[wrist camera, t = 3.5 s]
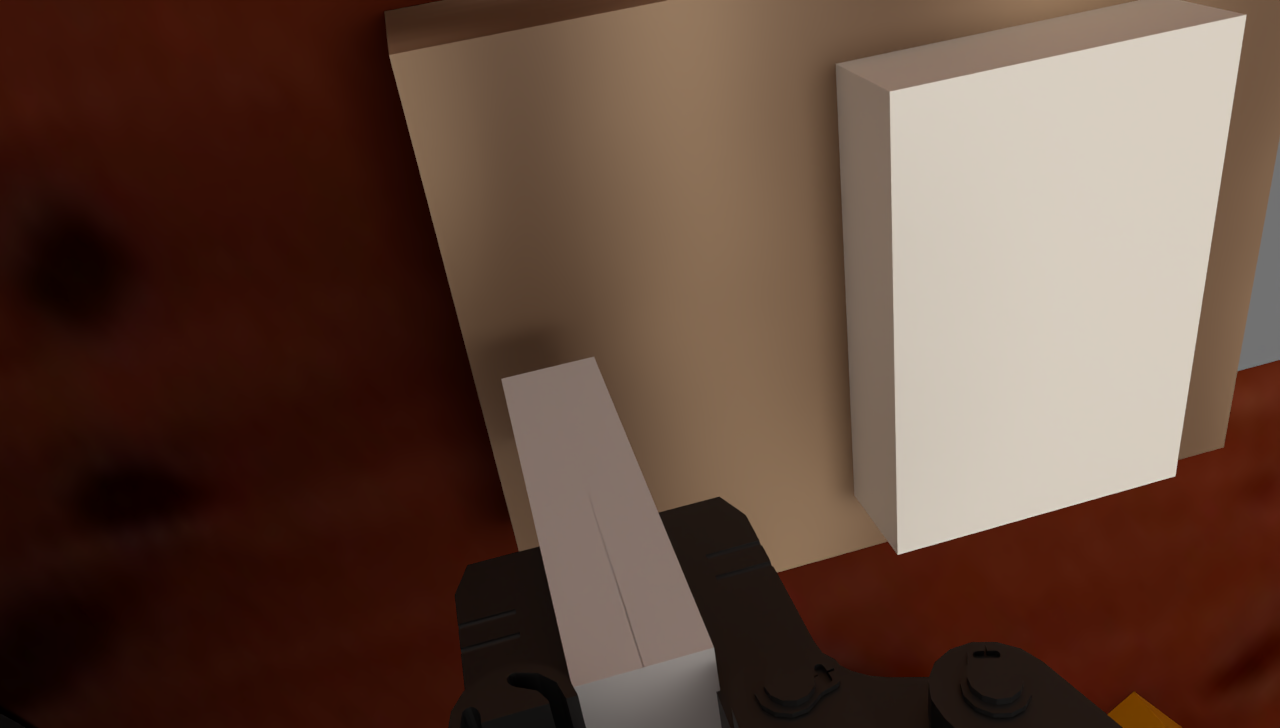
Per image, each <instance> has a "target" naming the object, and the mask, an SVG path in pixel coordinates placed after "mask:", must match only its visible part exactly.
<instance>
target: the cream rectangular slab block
mask: <svg viewBox="0 0 1280 728" xmlns="http://www.w3.org/2000/svg"><path fill="white" fill-rule="evenodd" d="M1245 22H1246V14H1241V13H1237V12H1232V11H1228V10H1223V9H1218V8H1214V7H1209V6H1205V5H1200V4H1196V3H1191V2H1186V1H1182V0H1137V1H1133V2H1128V3H1123V4H1118V5H1113V6H1109V7H1104V8H1099V9H1094V10H1090V11H1085V12H1080V13H1075V14H1071V15H1066V16H1061V17H1056V18H1052V19H1047V20H1042V21H1037V22H1033V23H1028V24H1023V25H1018V26H1013V27H1009V28H1004V29H999V30H994V31H990V32H985V33H980V34H975V35H971V36H966V37H961V38H956V39H952V40H947V41H942V42H937V43H933V44H928V45H923V46H918V47H913V48H909V49H904V50H899V51H894V52H890V53H885V54H880V55H875V56H871V57H866V58H861V59H856V60H852V61H847V62H842V63H837V64H836V84H837V107H838V130H839V153H840V176H841V199H842V222H843V245H844V268H845V291H846V314H847V337H848V360H849V383H850V406H851V428H852V451H853V474H854V495H855V497H856V498H857V500H858V501H859V502H860V504H861V505H862V506H863V508H864V509H865V511H866V512H867V513H868V515H869V516H870V517H871V519H872V520H873V522H874V523H875V524H876V526H877V527H878V528H879V530H880V531H881V533H882V534H883V535H884V537H885V538H886V539H887V541H888V542H889V544H890V545H891V546H892V548H893V549H894V550H895V552H896V553H897V555H899V554H902V553H906V552H909V551H913V550H916V549H920V548H923V547H927V546H930V545H934V544H938V543H941V542H945V541H948V540H952V539H955V538H959V537H962V536H966V535H969V534H973V533H976V532H980V531H983V530H987V529H990V528H994V527H998V526H1001V525H1005V524H1008V523H1012V522H1015V521H1019V520H1022V519H1026V518H1029V517H1033V516H1036V515H1040V514H1043V513H1047V512H1051V511H1054V510H1058V509H1061V508H1065V507H1068V506H1072V505H1075V504H1079V503H1082V502H1086V501H1089V500H1093V499H1096V498H1100V497H1103V496H1107V495H1111V494H1114V493H1118V492H1121V491H1125V490H1128V489H1132V488H1135V487H1139V486H1142V485H1146V484H1149V483H1153V482H1156V481H1160V480H1164V479H1167V478H1171V477H1174V476H1175V474H1176V468H1177V461H1178V455H1179V449H1180V442H1181V436H1182V429H1183V423H1184V416H1185V410H1186V403H1187V397H1188V390H1189V384H1190V377H1191V371H1192V364H1193V358H1194V352H1195V345H1196V339H1197V332H1198V326H1199V319H1200V313H1201V306H1202V300H1203V293H1204V287H1205V280H1206V274H1207V268H1208V261H1209V255H1210V248H1211V242H1212V235H1213V229H1214V222H1215V216H1216V209H1217V203H1218V196H1219V190H1220V184H1221V177H1222V171H1223V164H1224V158H1225V151H1226V145H1227V138H1228V132H1229V125H1230V119H1231V112H1232V106H1233V99H1234V93H1235V87H1236V80H1237V74H1238V67H1239V61H1240V54H1241V48H1242V41H1243V35H1244V28H1245Z"/></svg>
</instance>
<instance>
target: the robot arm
mask: <svg viewBox="0 0 1280 728" xmlns="http://www.w3.org/2000/svg"><path fill="white" fill-rule="evenodd" d="M501 380H502V385H503V389H504V393H505V398H506V402H507V406H508V411H509V415H510V419H511V424H512V428H513V432H514V437H515V441H516V446H517V450H518V454H519V459H520V463H521V467H522V472H523V476H524V480H525V485H526V489H527V493H528V498H529V502H530V506H531V511H532V515H533V519H534V524H535V528H536V532H537V537H538V541H539V547H535V548H531V549H527V550H523V551H520V552H516V553H512V554H508V555H504V556H501V557H497V558H493V559H489V560H485V561H482V562H478V563H474V564H470V565H467V568H466V570H465V572H464V575H463V577H462V579H461V582H460V584H459V586H458V589H457V591H456V593H455V601H456V610H457V620H458V626H459V638H460V648H461V652H462V654H461V657H462V667H463V676H464V686H465V691H464V692H463V693H462V695H461V697H460V698H459V700H458V701H457V703H456V705H455V706H454V708H453V709H452V711H451V715H450V722H449V728H1123V727H1122V726H1120V725H1119V724H1118V723H1117V722H1115V721H1114V720H1113V719H1112V718H1111V717H1109V716H1108V715H1107V714H1106V713H1105V712H1103V711H1102V710H1101V709H1100V708H1098V707H1097V706H1096V705H1095V704H1094V703H1092V702H1091V701H1090V700H1089V699H1087V698H1086V697H1085V696H1084V695H1083V694H1081V693H1080V692H1079V691H1078V690H1077V689H1075V688H1074V687H1073V686H1072V685H1070V684H1069V683H1068V682H1067V681H1066V680H1064V679H1063V678H1062V677H1061V676H1059V675H1058V674H1057V673H1056V672H1055V671H1053V670H1052V669H1051V668H1050V667H1049V666H1047V665H1046V664H1045V663H1044V662H1042V661H1041V660H1039V659H1037V658H1036V657H1034V656H1032V655H1031V654H1029V653H1027V652H1026V651H1024V650H1022V649H1020V648H1016V647H1013V646H1009V645H1005V644H1001V643H998V642H971V643H968V644H965V645H962V646H959V647H956V648H953V649H950V650H949V651H948V652H947V653H945V654H944V655H943V656H942V657H941V658H940V659H938V660H937V661H936V662H935V664H934V666H933V669H932V671H931V674H930V676H929V677H896V678H888V677H876V676H868V675H864V674H860V673H857V672H853V671H850V670H848V669H846V668H844V667H842V666H840V665H839V664H838V663H837V662H836V660H835V659H833V658H831V657H829V656H827V655H826V654H824V653H822V652H821V650H820V649H819V648H818V646H817V645H816V644H815V642H814V641H813V639H812V637H811V635H810V634H809V632H808V630H807V628H806V626H805V624H804V622H803V621H802V619H801V617H800V615H799V613H798V611H797V609H796V607H795V606H794V604H793V602H792V600H791V598H790V596H789V594H788V593H787V591H786V589H785V587H784V585H783V583H782V581H781V580H780V578H779V576H778V574H777V572H776V570H775V568H774V567H773V566H772V565H771V561H770V559H769V557H768V555H767V554H766V552H765V550H764V548H763V546H762V545H760V541H759V539H758V537H757V535H756V533H755V531H754V529H753V527H752V526H751V524H750V522H749V520H748V518H747V516H746V515H745V514H744V513H742V512H741V511H739V510H738V509H737V508H735V507H734V506H732V505H731V504H729V503H728V502H727V501H725V500H724V499H722V498H721V497H716V498H712V499H708V500H704V501H700V502H697V503H693V504H689V505H685V506H681V507H678V508H674V509H670V510H666V511H662V512H659V513H658V511H657V508H656V506H655V503H654V501H653V499H652V496H651V494H650V491H649V489H648V486H647V484H646V482H645V479H644V477H643V474H642V472H641V469H640V467H639V465H638V462H637V460H636V457H635V455H634V453H633V450H632V448H631V445H630V443H629V440H628V438H627V436H626V433H625V431H624V428H623V426H622V423H621V421H620V419H619V416H618V414H617V411H616V409H615V406H614V404H613V402H612V399H611V397H610V394H609V392H608V390H607V387H606V385H605V382H604V380H603V377H602V375H601V373H600V370H599V368H598V365H597V363H596V360H595V358H594V357H590V358H586V359H582V360H578V361H574V362H569V363H565V364H561V365H557V366H553V367H548V368H544V369H540V370H536V371H532V372H528V373H523V374H519V375H515V376H511V377H507V378H503V379H501ZM0 728H25V727H24V726H22V725H21V724H19V723H17V722H15V721H13V720H12V719H10V718H8V717H6V716H4V715H2V714H0Z"/></svg>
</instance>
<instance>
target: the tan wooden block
mask: <svg viewBox="0 0 1280 728" xmlns="http://www.w3.org/2000/svg"><path fill="white" fill-rule="evenodd" d="M1133 1H1137V0H442V1H437V2H432V3H426V4H421V5H416V6H410V7H405V8H400V9H395V10H389V11H384V14H385V23H386V32H387V41H388V51H389V57H390V61H391V65H392V69H393V72H394V76H395V80H396V84H397V88H398V91H399V95H400V99H401V103H402V107H403V110H404V114H405V118H406V122H407V126H408V130H409V133H410V137H411V141H412V145H413V149H414V152H415V156H416V160H417V164H418V168H419V172H420V175H421V179H422V183H423V187H424V191H425V194H426V198H427V202H428V206H429V210H430V214H431V217H432V221H433V225H434V229H435V233H436V236H437V240H438V244H439V248H440V252H441V256H442V259H443V263H444V267H445V271H446V275H447V278H448V282H449V286H450V290H451V294H452V298H453V301H454V305H455V309H456V313H457V317H458V320H459V324H460V328H461V332H462V336H463V339H464V343H465V347H466V351H467V355H468V359H469V362H470V366H471V370H472V374H473V378H474V381H475V385H476V389H477V393H478V397H479V401H480V404H481V408H482V412H483V416H484V420H485V423H486V427H487V431H488V435H489V439H490V443H491V446H492V450H493V454H494V458H495V462H496V465H497V469H498V473H499V477H500V481H501V485H502V488H503V492H504V496H505V500H506V504H507V507H508V511H509V515H510V519H511V523H512V527H513V530H514V534H515V538H516V542H517V546H518V549H519V552H520V551H523V550H527V549H531V548H535V547H539V541H538V537H537V532H536V528H535V524H534V519H533V515H532V511H531V506H530V502H529V498H528V493H527V489H526V485H525V480H524V476H523V472H522V467H521V463H520V459H519V454H518V450H517V446H516V441H515V437H514V432H513V428H512V424H511V419H510V415H509V411H508V406H507V402H506V398H505V393H504V389H503V385H502V380H501V379H503V378H507V377H511V376H515V375H519V374H523V373H528V372H532V371H536V370H540V369H544V368H548V367H553V366H557V365H561V364H565V363H569V362H574V361H578V360H582V359H586V358H590V357H594V358H595V360H596V363H597V365H598V368H599V370H600V373H601V375H602V377H603V380H604V382H605V385H606V387H607V390H608V392H609V394H610V397H611V399H612V402H613V404H614V406H615V409H616V411H617V414H618V416H619V419H620V421H621V423H622V426H623V428H624V431H625V433H626V436H627V438H628V440H629V443H630V445H631V448H632V450H633V453H634V455H635V457H636V460H637V462H638V465H639V467H640V469H641V472H642V474H643V477H644V479H645V482H646V484H647V486H648V489H649V491H650V494H651V496H652V499H653V501H654V503H655V506H656V508H657V511H658V513H659V512H662V511H666V510H670V509H674V508H678V507H681V506H685V505H689V504H693V503H697V502H700V501H704V500H708V499H712V498H716V497H721V498H722V499H724V500H725V501H727V502H728V503H729V504H731V505H732V506H734V507H735V508H737V509H738V510H739V511H741V512H742V513H744V514H745V515H746V516H747V518H748V520H749V522H750V524H751V526H752V527H753V529H754V531H755V533H756V535H757V537H758V539H759V541H760V545H762V546H763V548H764V550H765V552H766V554H767V555H768V557H769V559H770V561H771V565H772V566H773V567H774V568H775V570H776V572H781V571H784V570H788V569H791V568H795V567H798V566H802V565H805V564H809V563H813V562H816V561H820V560H823V559H827V558H830V557H834V556H838V555H841V554H845V553H848V552H852V551H855V550H859V549H862V548H866V547H870V546H873V545H877V544H880V543H884V542H887V539H886V538H885V537H884V535H883V534H882V533H881V531H880V530H879V528H878V527H877V526H876V524H875V523H874V522H873V520H872V519H871V517H870V516H869V515H868V513H867V512H866V511H865V509H864V508H863V506H862V505H861V504H860V502H859V501H858V500H857V498H856V497H855V495H854V474H853V451H852V428H851V406H850V383H849V360H848V337H847V314H846V291H845V268H844V245H843V222H842V199H841V176H840V153H839V130H838V107H837V84H836V64H837V63H842V62H847V61H852V60H856V59H861V58H866V57H871V56H875V55H880V54H885V53H890V52H894V51H899V50H904V49H909V48H913V47H918V46H923V45H928V44H933V43H937V42H942V41H947V40H952V39H956V38H961V37H966V36H971V35H975V34H980V33H985V32H990V31H994V30H999V29H1004V28H1009V27H1013V26H1018V25H1023V24H1028V23H1033V22H1037V21H1042V20H1047V19H1052V18H1056V17H1061V16H1066V15H1071V14H1075V13H1080V12H1085V11H1090V10H1094V9H1099V8H1104V7H1109V6H1113V5H1118V4H1123V3H1128V2H1133ZM1182 1H1186V2H1191V3H1196V4H1200V5H1205V6H1209V7H1214V8H1218V9H1223V10H1228V11H1232V12H1237V13H1241V14H1246V22H1245V28H1244V35H1243V41H1242V48H1241V54H1240V61H1239V67H1238V74H1237V80H1236V87H1235V93H1234V99H1233V106H1232V112H1231V119H1230V125H1229V132H1228V138H1227V145H1226V151H1225V158H1224V164H1223V171H1222V177H1221V184H1220V190H1219V196H1218V203H1217V209H1216V216H1215V222H1214V229H1213V235H1212V242H1211V248H1210V255H1209V261H1208V268H1207V274H1206V280H1205V287H1204V293H1203V300H1202V306H1201V313H1200V319H1199V326H1198V332H1197V339H1196V345H1195V352H1194V358H1193V364H1192V371H1191V377H1190V384H1189V390H1188V397H1187V403H1186V410H1185V416H1184V423H1183V429H1182V436H1181V442H1180V449H1179V455H1178V460H1179V459H1183V458H1187V457H1190V456H1194V455H1197V454H1201V453H1204V452H1208V451H1211V450H1215V449H1219V448H1222V447H1224V442H1225V437H1226V431H1227V426H1228V420H1229V415H1230V409H1231V404H1232V398H1233V393H1234V387H1235V382H1236V376H1237V371H1238V365H1239V360H1240V354H1241V348H1242V343H1243V337H1244V332H1245V326H1246V321H1247V315H1248V310H1249V304H1250V299H1251V293H1252V288H1253V282H1254V277H1255V271H1256V266H1257V260H1258V255H1259V249H1260V244H1261V238H1262V233H1263V227H1264V222H1265V216H1266V211H1267V205H1268V200H1269V194H1270V189H1271V183H1272V177H1273V172H1274V166H1275V161H1276V155H1277V150H1278V144H1279V139H1280V0H1182Z"/></svg>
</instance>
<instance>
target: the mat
mask: <svg viewBox="0 0 1280 728" xmlns="http://www.w3.org/2000/svg"><path fill="white" fill-rule="evenodd" d="M1277 360H1280V139H1279V144H1278V150H1277V155H1276V161H1275V166H1274V172H1273V177H1272V183H1271V189H1270V194H1269V200H1268V205H1267V211H1266V216H1265V222H1264V227H1263V233H1262V238H1261V244H1260V249H1259V255H1258V260H1257V266H1256V271H1255V277H1254V282H1253V288H1252V293H1251V299H1250V304H1249V310H1248V315H1247V321H1246V326H1245V332H1244V337H1243V343H1242V348H1241V354H1240V360H1239V365H1238V371H1240V370H1243V369H1247V368H1251V367H1254V366H1258V365H1262V364H1266V363H1269V362H1273V361H1277Z"/></svg>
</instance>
